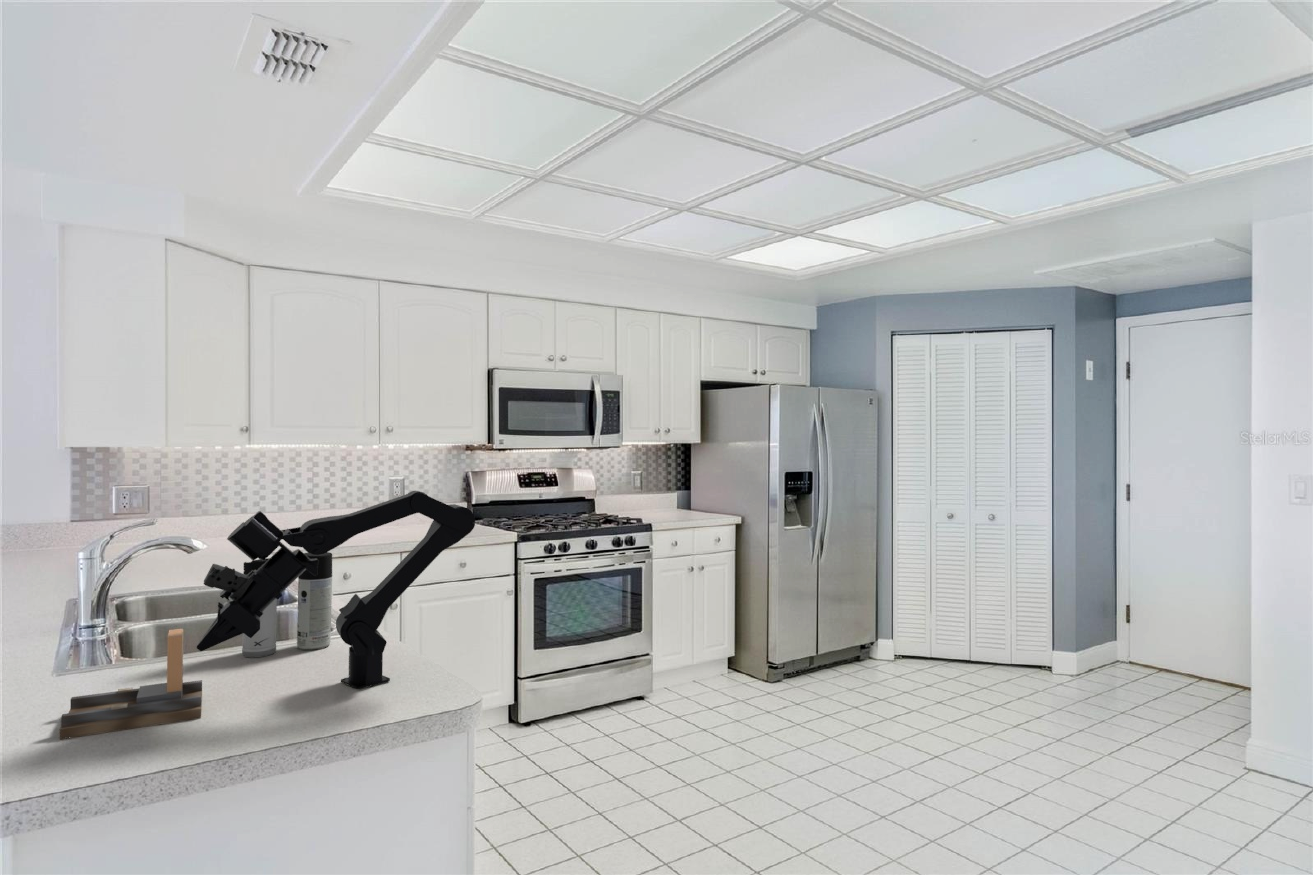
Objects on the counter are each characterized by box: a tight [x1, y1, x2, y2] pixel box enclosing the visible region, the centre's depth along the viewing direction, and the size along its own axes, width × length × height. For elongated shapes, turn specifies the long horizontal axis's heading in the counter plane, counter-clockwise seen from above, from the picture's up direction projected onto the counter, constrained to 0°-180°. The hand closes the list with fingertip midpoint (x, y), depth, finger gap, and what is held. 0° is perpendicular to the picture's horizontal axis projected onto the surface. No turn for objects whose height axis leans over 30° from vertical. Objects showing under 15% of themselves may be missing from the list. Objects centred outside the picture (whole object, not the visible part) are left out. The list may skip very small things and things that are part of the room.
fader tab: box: [136, 628, 184, 704], centre depth 123 cm, size 6×6×11 cm
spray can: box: [296, 551, 333, 651], centre depth 162 cm, size 7×7×20 cm
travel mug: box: [241, 557, 278, 659], centre depth 157 cm, size 6×7×20 cm
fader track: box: [59, 679, 203, 740], centre depth 122 cm, size 18×12×3 cm, turn 120°
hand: (198, 649), depth 126 cm, fingers closed
